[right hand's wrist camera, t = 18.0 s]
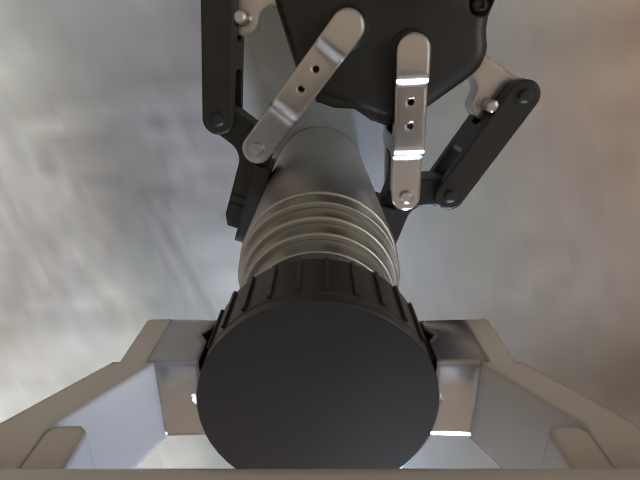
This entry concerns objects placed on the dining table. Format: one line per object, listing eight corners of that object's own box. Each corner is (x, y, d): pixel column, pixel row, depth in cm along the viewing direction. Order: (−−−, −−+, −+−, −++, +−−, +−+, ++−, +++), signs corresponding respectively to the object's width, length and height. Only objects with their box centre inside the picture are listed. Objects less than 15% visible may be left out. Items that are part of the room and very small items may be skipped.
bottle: (259, 163, 26) (138, 372, 9) (327, 108, 25) (341, 224, 8) (313, 225, 28) (300, 513, 10) (378, 176, 27) (491, 406, 9)
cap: (335, 458, 11) (337, 528, 10) (174, 365, 10) (146, 425, 9) (466, 333, 10) (496, 390, 8) (296, 211, 9) (290, 246, 7)
